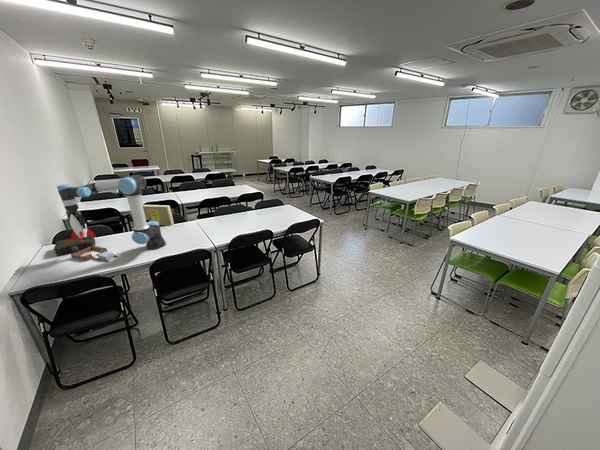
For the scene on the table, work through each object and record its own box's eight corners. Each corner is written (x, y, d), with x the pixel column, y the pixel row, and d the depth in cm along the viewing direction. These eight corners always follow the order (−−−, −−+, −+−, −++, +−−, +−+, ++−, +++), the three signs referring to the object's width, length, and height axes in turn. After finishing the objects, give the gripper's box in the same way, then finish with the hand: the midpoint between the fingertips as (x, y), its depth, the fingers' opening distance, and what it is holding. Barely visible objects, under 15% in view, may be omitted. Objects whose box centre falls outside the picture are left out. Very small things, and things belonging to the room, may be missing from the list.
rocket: (82, 243, 186) (70, 213, 176) (71, 242, 188) (59, 212, 178) (96, 237, 196) (86, 209, 186) (86, 236, 198) (75, 208, 188)
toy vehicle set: (174, 223, 261) (170, 205, 253) (171, 225, 257) (167, 206, 249) (144, 223, 264) (139, 204, 256) (142, 224, 260) (136, 205, 252)
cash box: (56, 257, 193) (52, 249, 190) (59, 248, 208) (55, 241, 205) (95, 248, 208) (92, 240, 205) (95, 240, 222) (92, 233, 219)
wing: (114, 256, 193) (113, 253, 192) (107, 260, 188) (105, 256, 187) (106, 255, 196) (105, 251, 194) (99, 258, 190) (97, 255, 189)
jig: (122, 254, 197) (121, 250, 196) (102, 264, 183) (101, 260, 182) (93, 249, 206) (92, 245, 205) (72, 258, 192) (70, 254, 191)
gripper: (85, 204, 181) (95, 231, 189) (66, 202, 186) (76, 228, 195) (74, 207, 174) (85, 234, 183) (55, 204, 180) (66, 231, 188)
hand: (81, 231), depth 189 cm, fingers closed on rocket, 9 cm apart
